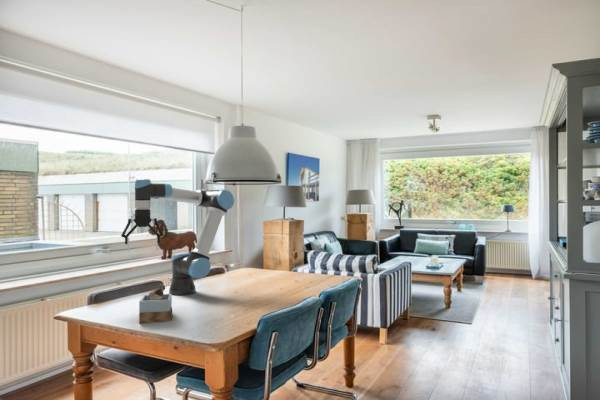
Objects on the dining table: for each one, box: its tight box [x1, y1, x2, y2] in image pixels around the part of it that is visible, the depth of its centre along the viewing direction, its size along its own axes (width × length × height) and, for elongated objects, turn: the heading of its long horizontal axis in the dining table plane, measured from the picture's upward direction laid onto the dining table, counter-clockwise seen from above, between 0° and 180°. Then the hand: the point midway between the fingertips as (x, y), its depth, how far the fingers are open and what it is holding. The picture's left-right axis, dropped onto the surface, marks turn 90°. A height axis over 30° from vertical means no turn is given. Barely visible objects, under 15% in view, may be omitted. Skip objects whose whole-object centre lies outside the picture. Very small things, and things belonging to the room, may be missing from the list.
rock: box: [147, 284, 166, 300], centre depth 193 cm, size 9×7×10 cm
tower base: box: [138, 305, 173, 325], centre depth 193 cm, size 14×14×5 cm
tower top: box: [138, 293, 173, 314], centre depth 193 cm, size 13×13×5 cm
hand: (142, 250), depth 216 cm, fingers open, 13 cm apart
